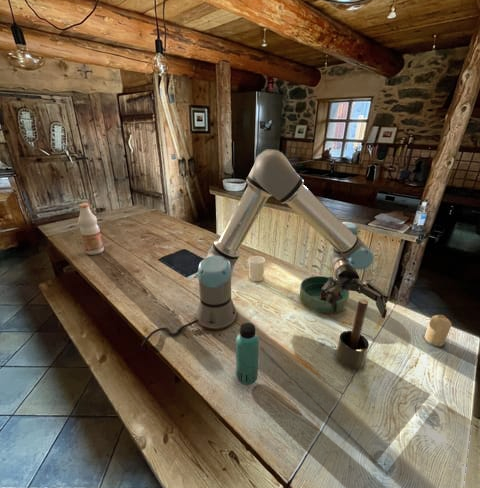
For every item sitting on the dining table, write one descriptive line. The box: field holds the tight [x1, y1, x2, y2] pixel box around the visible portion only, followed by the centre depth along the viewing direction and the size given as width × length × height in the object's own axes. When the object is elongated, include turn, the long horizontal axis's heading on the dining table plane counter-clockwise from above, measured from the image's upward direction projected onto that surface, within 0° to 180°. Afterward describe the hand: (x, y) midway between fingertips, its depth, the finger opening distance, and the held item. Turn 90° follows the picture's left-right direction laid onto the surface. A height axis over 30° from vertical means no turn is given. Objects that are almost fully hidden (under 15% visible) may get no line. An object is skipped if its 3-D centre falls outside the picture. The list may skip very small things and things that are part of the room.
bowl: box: [299, 275, 350, 315], centre depth 111 cm, size 19×19×6 cm
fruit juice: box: [77, 202, 105, 256], centre depth 148 cm, size 9×9×28 cm
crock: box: [335, 330, 370, 370], centre depth 83 cm, size 8×8×8 cm
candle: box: [424, 314, 453, 347], centre depth 90 cm, size 6×6×10 cm
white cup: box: [247, 255, 266, 282], centre depth 126 cm, size 8×8×10 cm
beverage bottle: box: [235, 322, 260, 386], centre depth 73 cm, size 6×7×20 cm
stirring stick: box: [349, 298, 369, 349], centre depth 79 cm, size 2×2×22 cm
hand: (359, 311), depth 77 cm, fingers open, 13 cm apart
